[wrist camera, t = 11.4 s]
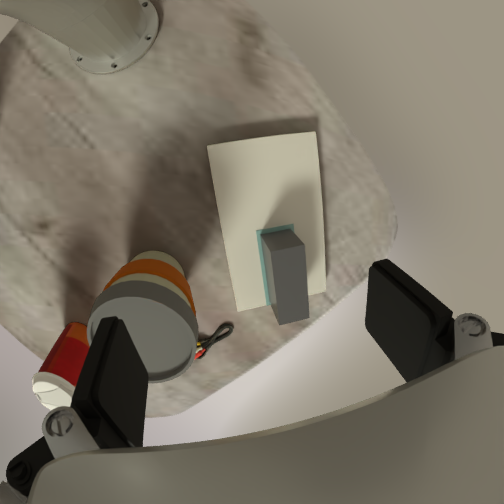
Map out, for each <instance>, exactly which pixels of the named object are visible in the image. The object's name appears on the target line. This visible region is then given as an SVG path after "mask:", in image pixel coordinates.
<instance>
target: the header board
mask: <svg viewBox="0 0 504 504" xmlns="http://www.w3.org/2000/svg"><path fill="white" fill-rule="evenodd" d="M207 151H208V157H209V163H210V169H211V174H212V180H213V186H214V191H215V197H216V202H217V208H218V213H219V219H220V224H221V229H222V235H223V240H224V245H225V251H226V256H227V261H228V266H229V271H230V276H231V281H232V286H233V291H234V296H235V301H236V306H237V310H238V311H242V310H247V309H252V308H257V307H261V306H266V305H271V304H270V302H269V295H268V287H267V280H266V273H265V266H264V259H263V252H262V245H261V237H260V234H265V233H270V232H275V231H280V230H286V229H291V230H292V231H293V232H294V233H295V234H296V235H297V237H298V238H299V239H300V240H301V241H302V242H303V243H304V244H305V253H306V268H307V284H308V296H309V295H313V294H317V293H321V292H325V291H326V271H325V243H324V223H323V207H322V193H321V181H320V169H319V158H318V148H317V139H316V132H299V133H290V134H280V135H272V136H264V137H257V138H250V139H243V140H236V141H230V142H224V143H218V144H213V145H207Z"/></svg>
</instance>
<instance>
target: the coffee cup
mask: <svg viewBox="0 0 504 504" xmlns="http://www.w3.org/2000/svg"><path fill="white" fill-rule="evenodd" d="M89 348H90V346H89V343H88V339H87V326H85V325H84V324H81V323H78V322H72V323H70V324H68V325H67V326H66V328H65V329H64V330H63V332H62V333H61V335H60V336H59V338H58V340H57V341H56V343H55V344H54V346H53V348H52V349H51V351H50V353H49V354H48V356H47V358H46V359H45V361H44V363H43V365H42V366H41V368H40V370H39V372H38V373H36V374H35V375H34V376H33V378H32V383H33V386H32V389H33V392H35V395H36V397H37V398H38V399H39V400H40V402H41V403H42V404H43V405H44V406H45V407H47V408H48V409H50V410H53V409H55V408H57V407H61V406H68V407H70V405H71V402H72V400H71V399H72V396H73V393H74V390H75V387H76V384H77V381H78V378H79V375H80V372H81V369H82V367H83V364H84V361H85V358H86V356H87V353H88V350H89Z"/></svg>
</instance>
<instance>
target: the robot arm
mask: <svg viewBox="0 0 504 504" xmlns="http://www.w3.org/2000/svg"><path fill="white" fill-rule="evenodd" d="M145 6H146V7H145ZM0 14H3V15H7V16H10V17H13V18H16V19H18V20H20V21H23V22H25V23H27V24H29V25H31V26H33V27H34V28H36V29H38V30H40V31H42V32H43V33H45V34H47V35H49V36H51V37H52V38H54V39H56V40H58V41H59V42H61V43H63V44H65V45H66V46H68V47H69V51H70V55H71V57H72V59H73V61H74V62H75V63H76V65H78V66H79V67H80V68H81V69H83V70H85V71H87V72H90V73H94V74H111V73H114V72H118V71H121V70H123V69H125V68H128V67H129V66H131V65H132V64H134V63H136V62H137V61H138V60H139V59H140V58H142V57H143V56H144V55H145V53H146V52H147V51H148V50H149V49H150V47H151V46H152V44H153V43H154V41H155V38H156V36H157V33H158V29H159V18H158V14H157V11H156V9H155V7H154V6H153V4H152V3H151V2H150V1H149V0H0ZM148 38H151V39H150V40H147V39H148ZM81 59H82V61H81ZM115 65H117V67H116V68H114V66H115ZM452 314H453V312H452V311H451V310H450V309H449V308H448V307H446V306H445V305H444V304H443V303H441V301H439V300H438V299H437V298H436V297H435V296H434V295H432V294H431V293H430V292H429V291H428V290H426V289H425V288H424V287H423V286H421V285H420V284H419V283H418V282H416V281H415V280H414V279H413V278H412V277H410V276H409V275H408V274H407V273H405V272H404V271H403V270H401V269H400V268H399V267H398V266H396V265H395V264H394V263H392V262H391V261H390V260H388V259H384V260H380V261H376V262H374V263H373V264H372V266H371V267H370V268H369V277H368V293H367V306H366V317H365V326H366V329H367V330H368V332H369V333H370V335H371V336H372V337H373V338H374V339H375V341H376V342H377V343H378V345H379V346H380V348H381V349H382V350H383V351H384V353H385V354H386V355H387V357H388V358H389V359H390V361H391V362H392V363H393V364H394V366H395V367H396V369H397V370H398V371H399V373H400V374H401V375H402V377H403V378H404V379H405V381H406V382H407V383H405V384H403V385H401V386H398V387H396V388H394V389H392V390H389V391H387V392H384V393H382V394H379V395H377V396H375V397H372V398H369V399H367V400H364V401H361V402H359V403H356V404H353V405H350V406H347V407H345V408H342V409H339V410H336V411H333V412H330V413H326V414H323V415H320V416H317V417H313V418H310V419H307V420H303V421H299V422H296V423H292V424H289V425H284V426H280V427H277V428H272V429H268V430H263V431H258V432H254V433H249V434H244V435H239V436H233V437H227V438H222V439H215V440H208V441H201V442H193V443H184V444H174V445H163V446H150V447H143V432H144V420H145V409H146V399H147V390H148V381H149V376H148V372H147V369H146V367H145V365H144V363H143V361H142V359H141V357H140V355H139V353H138V351H137V349H136V347H135V345H134V343H133V341H132V339H131V336H130V334H129V332H128V330H127V328H126V325H125V323H124V321H123V320H122V319H118V317H117V316H112V317H105V318H102V319H101V320H100V323H99V325H98V328H97V330H96V333H95V335H94V338H93V340H92V343H91V345H90V348H89V350H88V353H87V356H86V358H85V361H84V364H83V367H82V369H81V372H80V375H79V378H78V381H77V384H76V387H75V390H74V393H73V396H72V399H71V400H72V402H71V405H70V407H68V406H61V407H57V408H55V409H53V410H51V411H50V412H49V413H48V414H47V415H46V417H45V418H44V421H43V423H42V431H43V434H44V436H43V437H42V438H40V439H39V440H38V441H36V442H35V443H34V444H32V445H31V446H30V447H28V448H27V449H25V450H24V451H23V452H21V453H20V454H18V455H17V456H16V457H14V458H13V459H12V460H11V461H10V462H9V464H8V466H7V470H6V477H7V482H4V481H2V482H1V484H0V504H504V334H502V333H495V332H491V331H490V327H489V324H488V322H487V321H486V320H485V319H483V318H482V317H481V316H478V315H476V314H472V313H465V314H462V315H459V316H458V317H457V318H456V319H455V320H454V319H453V318H452Z"/></svg>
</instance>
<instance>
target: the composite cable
mask: <svg viewBox="0 0 504 504" xmlns="http://www.w3.org/2000/svg"><path fill="white" fill-rule="evenodd" d="M226 328H229V331H228V332H227V333H225V334H224V335H222V336H220V337H217V336H218V335H219V334H220V333H221V332H222V331H223V330H224V329H226ZM232 332H233V327H232V326H231V325H230V324H223V325H221V326H220V327H219V328H218V329H217V330H216V332H215V333H214V335H213V336H212V337H211V338H210V339H202V340H199V341H198V342H197V350H196V354H195V359H201V358H203V357H204V356H205V355H206V353H207V351H208V350H209V348H210V347H211V346H212V345H213V344H215V343H216V342H218V341H220V340H222V339H224V338H226V337H228V336H229V335H230V334H231V333H232ZM216 337H217V338H216ZM206 348H207V349H206ZM204 351H205V352H204ZM203 352H204V353H203ZM202 353H203V355H202ZM195 359H194V360H195Z"/></svg>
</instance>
